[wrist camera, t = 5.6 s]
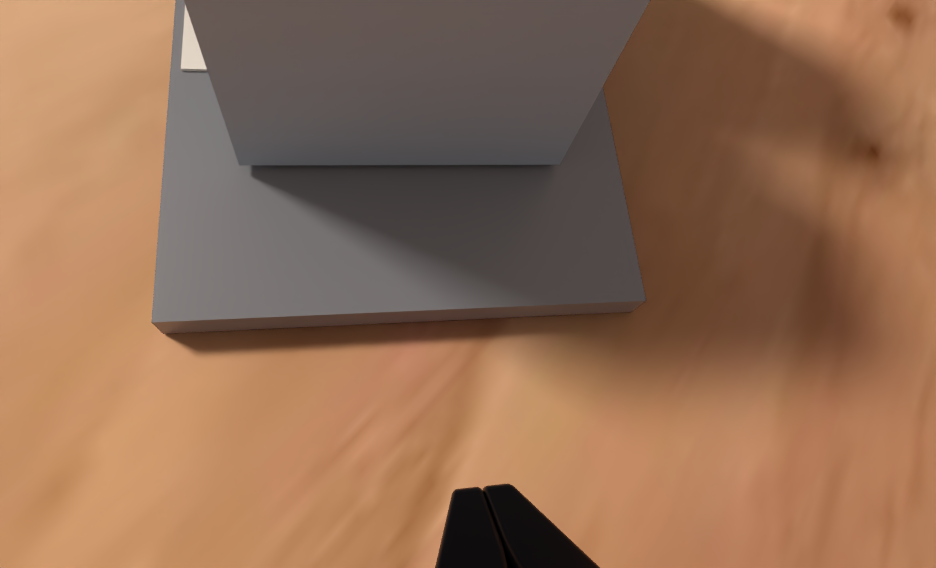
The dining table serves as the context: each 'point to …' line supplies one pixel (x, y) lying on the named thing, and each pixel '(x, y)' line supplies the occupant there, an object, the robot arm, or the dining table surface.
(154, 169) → the dining table surface
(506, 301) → the plate
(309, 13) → the blue-gray rectangular block
